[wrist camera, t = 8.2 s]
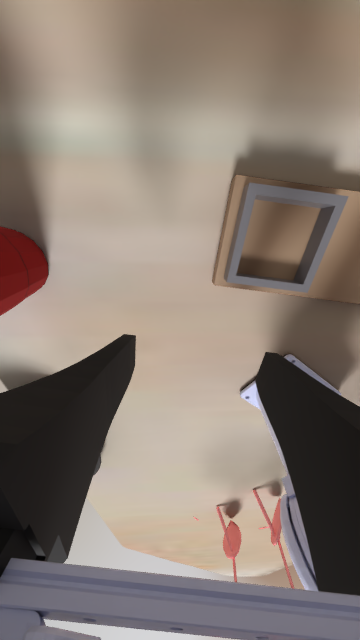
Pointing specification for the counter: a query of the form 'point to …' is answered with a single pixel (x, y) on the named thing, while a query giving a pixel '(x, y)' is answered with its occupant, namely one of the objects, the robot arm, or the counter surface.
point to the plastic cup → (19, 268)
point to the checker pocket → (316, 244)
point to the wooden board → (293, 243)
